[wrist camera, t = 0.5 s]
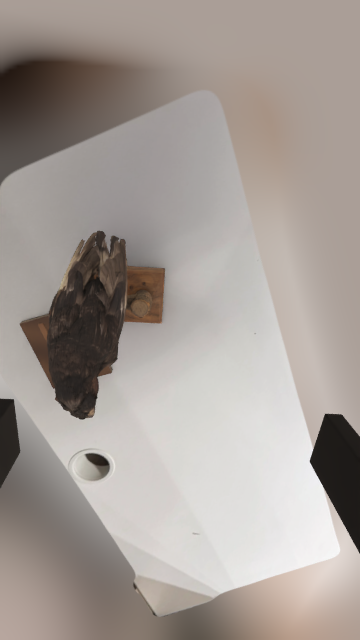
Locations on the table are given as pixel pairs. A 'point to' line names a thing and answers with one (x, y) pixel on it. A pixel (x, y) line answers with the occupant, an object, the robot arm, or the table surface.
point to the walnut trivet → (44, 342)
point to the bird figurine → (96, 318)
